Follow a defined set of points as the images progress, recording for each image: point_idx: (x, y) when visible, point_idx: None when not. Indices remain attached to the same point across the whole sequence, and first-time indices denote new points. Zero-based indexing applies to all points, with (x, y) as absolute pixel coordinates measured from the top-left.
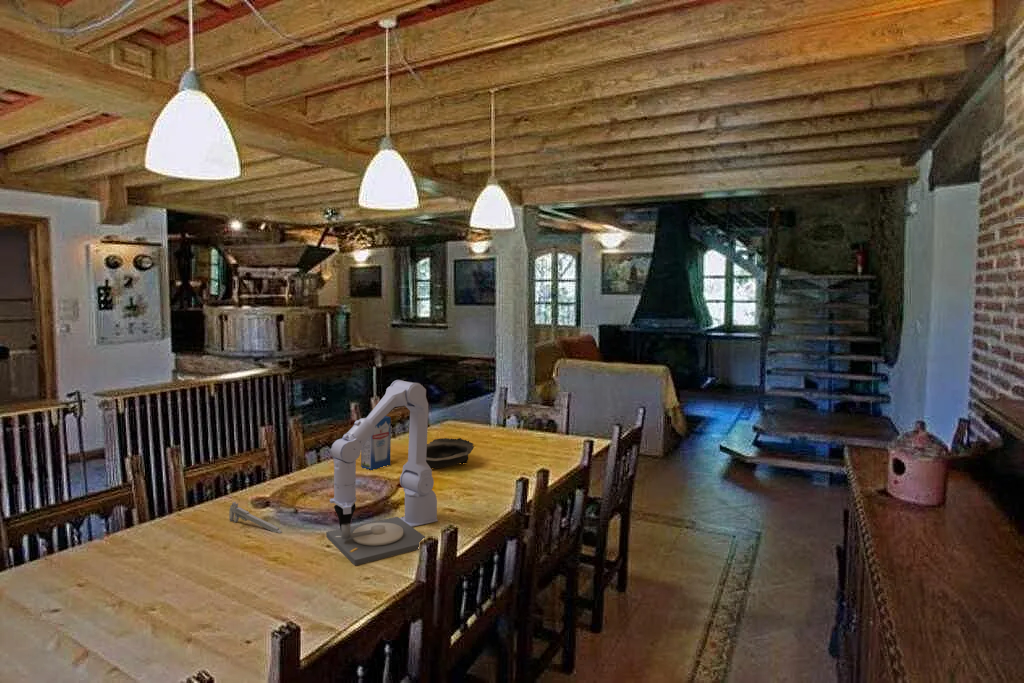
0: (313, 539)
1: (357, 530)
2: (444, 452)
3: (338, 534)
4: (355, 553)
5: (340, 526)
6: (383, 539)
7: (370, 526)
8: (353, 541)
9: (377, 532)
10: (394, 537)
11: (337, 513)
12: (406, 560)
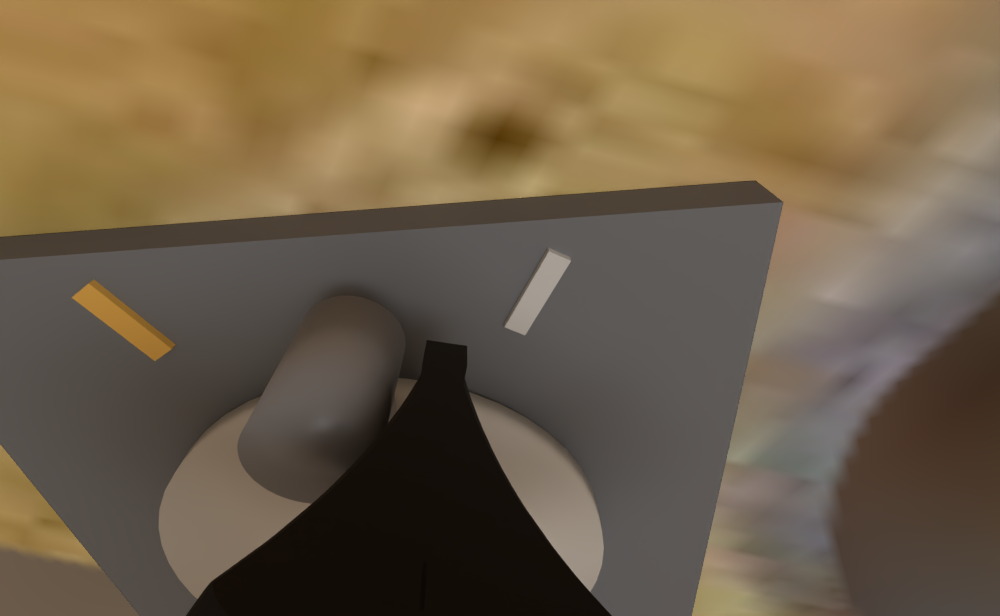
0: (800, 19)
1: (503, 461)
2: None
3: (618, 296)
4: (44, 314)
5: (419, 378)
6: (203, 557)
7: None
8: None
9: None
10: None
11: (247, 563)
12: (18, 537)
